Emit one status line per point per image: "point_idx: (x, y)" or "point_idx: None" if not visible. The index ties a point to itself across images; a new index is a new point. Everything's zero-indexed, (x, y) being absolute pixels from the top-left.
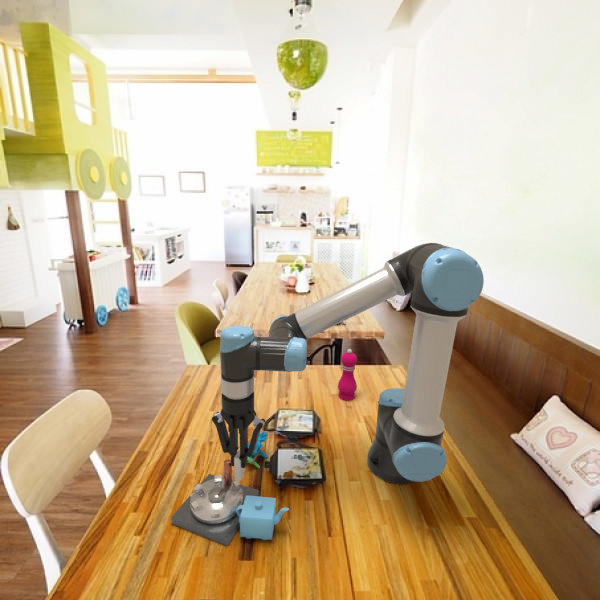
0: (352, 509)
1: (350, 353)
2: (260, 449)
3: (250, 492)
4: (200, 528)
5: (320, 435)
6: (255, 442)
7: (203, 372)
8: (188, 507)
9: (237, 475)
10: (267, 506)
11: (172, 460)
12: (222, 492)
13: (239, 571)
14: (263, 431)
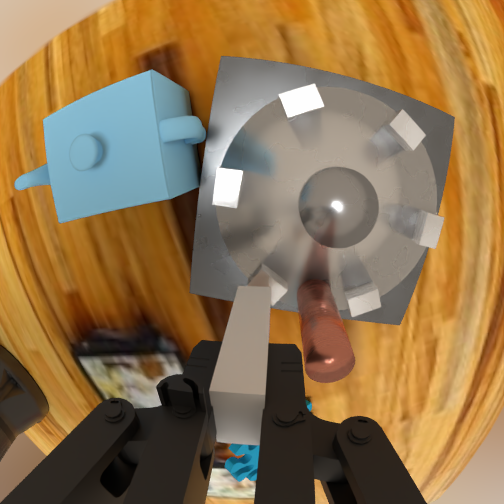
0: (6, 278)
1: None
2: None
3: (216, 277)
4: (341, 75)
5: None
6: (14, 492)
7: None
8: None
9: (251, 302)
10: (68, 169)
11: (487, 341)
12: (315, 219)
13: (164, 18)
14: (252, 480)
